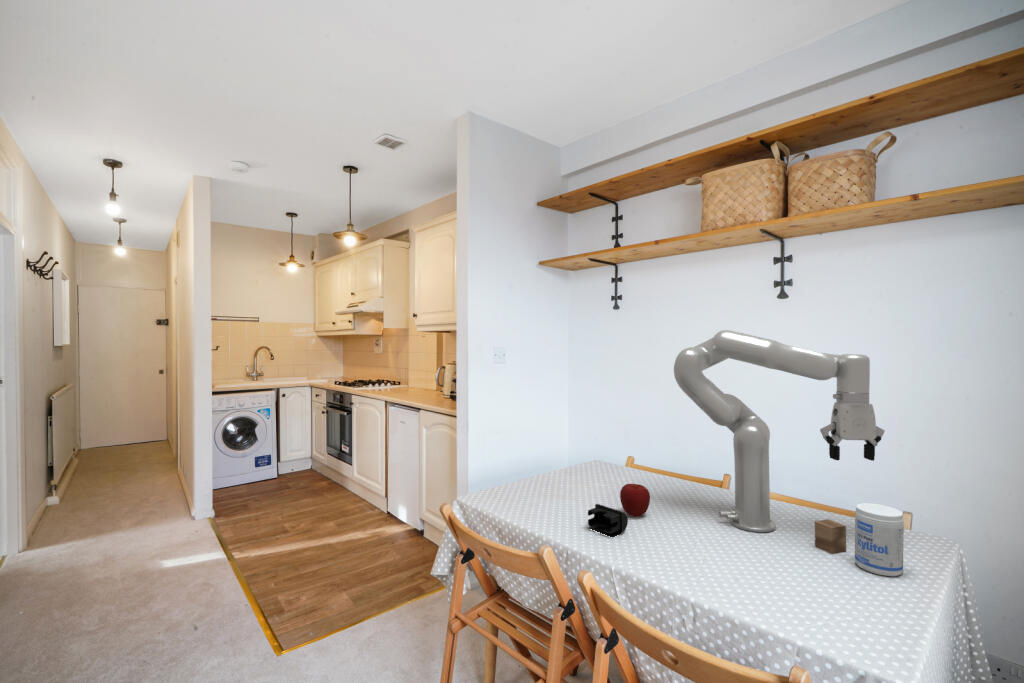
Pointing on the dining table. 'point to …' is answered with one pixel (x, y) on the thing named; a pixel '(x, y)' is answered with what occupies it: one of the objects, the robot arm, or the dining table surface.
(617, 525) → the end cap
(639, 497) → the apple
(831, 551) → the walnut block
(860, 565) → the supplement tub
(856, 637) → the dining table surface
